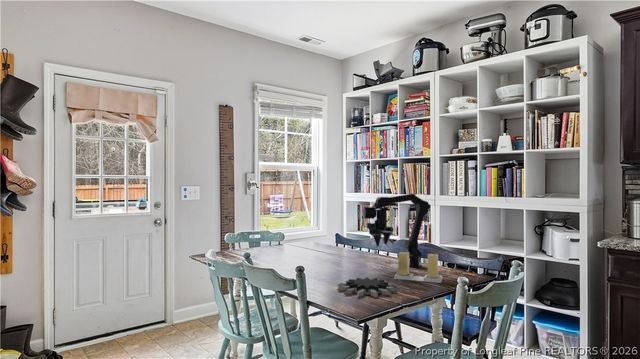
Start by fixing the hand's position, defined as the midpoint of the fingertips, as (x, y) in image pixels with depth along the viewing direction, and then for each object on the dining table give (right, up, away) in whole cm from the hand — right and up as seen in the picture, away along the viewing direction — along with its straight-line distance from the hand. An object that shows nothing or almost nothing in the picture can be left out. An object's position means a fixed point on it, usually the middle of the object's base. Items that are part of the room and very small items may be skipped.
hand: (381, 245), depth 229 cm
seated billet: (+20, -12, -33) cm, 40 cm away
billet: (+7, -12, -27) cm, 31 cm away
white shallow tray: (+14, -13, -30) cm, 35 cm away
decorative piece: (-14, -13, -47) cm, 51 cm away
